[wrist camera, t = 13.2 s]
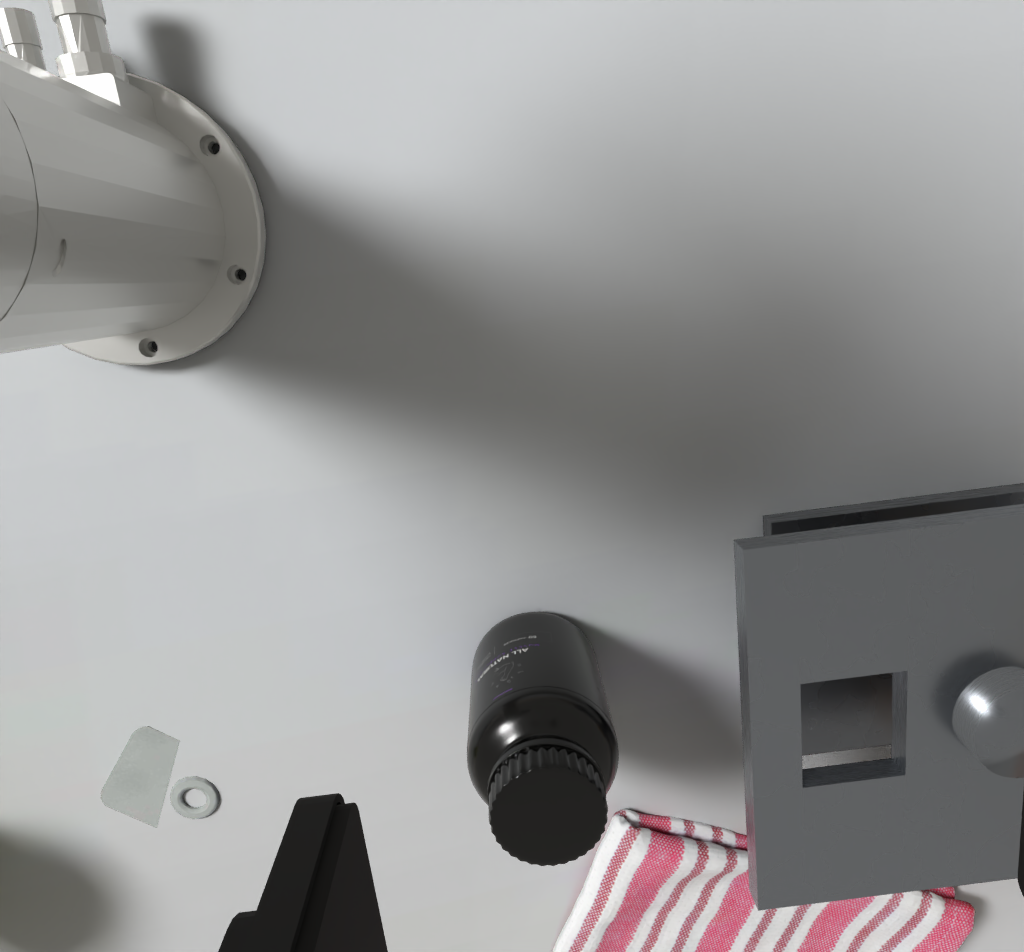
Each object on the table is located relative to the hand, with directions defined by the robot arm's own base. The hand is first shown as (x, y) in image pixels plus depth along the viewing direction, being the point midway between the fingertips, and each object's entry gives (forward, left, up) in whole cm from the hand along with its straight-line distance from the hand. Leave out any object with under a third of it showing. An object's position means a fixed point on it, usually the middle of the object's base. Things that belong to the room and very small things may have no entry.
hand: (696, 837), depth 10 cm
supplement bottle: (+13, -2, -28) cm, 31 cm away
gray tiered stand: (+13, +18, -28) cm, 36 cm away
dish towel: (+35, +9, -29) cm, 46 cm away
